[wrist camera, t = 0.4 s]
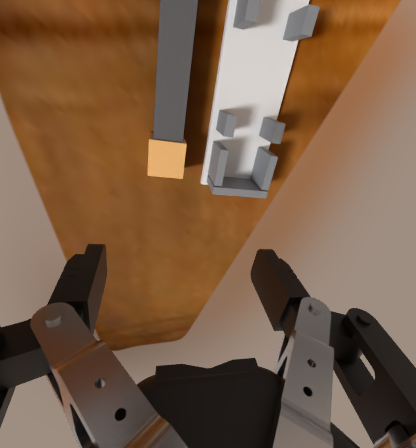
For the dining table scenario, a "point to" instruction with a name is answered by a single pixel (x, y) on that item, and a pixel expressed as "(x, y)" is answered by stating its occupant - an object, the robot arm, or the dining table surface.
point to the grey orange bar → (172, 87)
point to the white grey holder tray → (252, 93)
